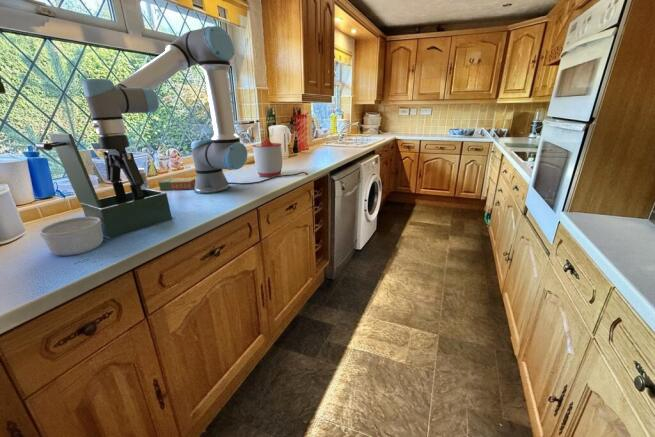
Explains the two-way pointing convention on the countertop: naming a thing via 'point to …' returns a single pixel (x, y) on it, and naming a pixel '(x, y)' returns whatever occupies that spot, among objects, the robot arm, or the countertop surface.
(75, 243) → the ramekin
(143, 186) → the sprinkles bottle
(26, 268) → the countertop surface
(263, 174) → the citrus juicer
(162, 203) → the green lidded box
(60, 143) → the bin lid
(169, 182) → the carton
